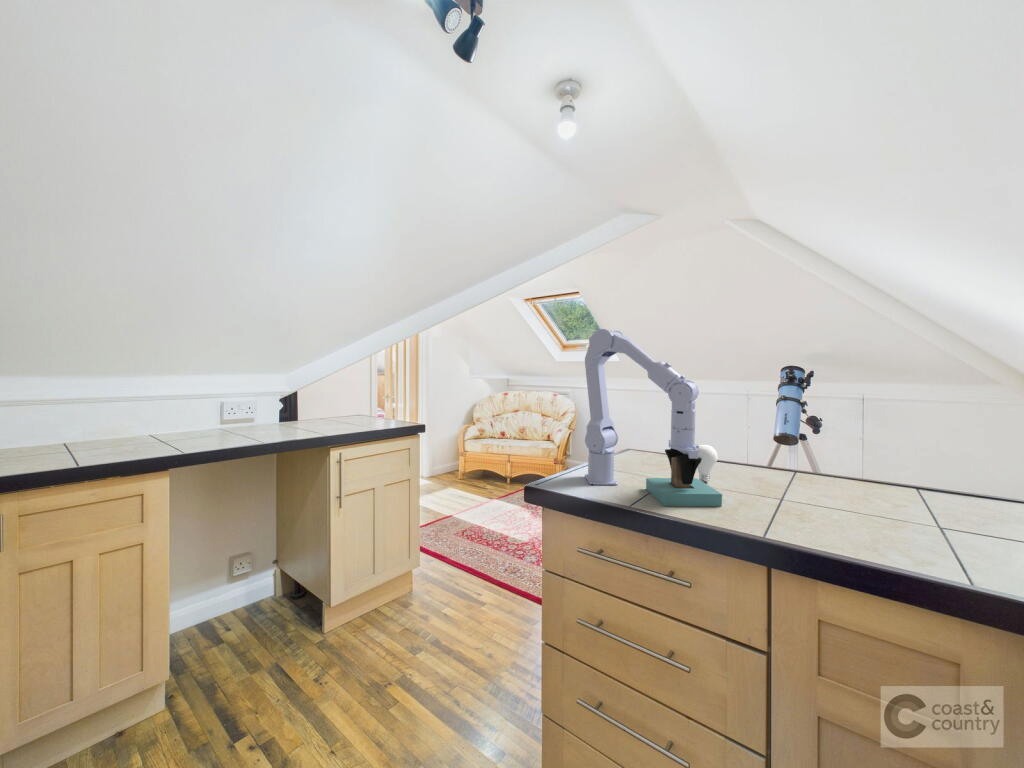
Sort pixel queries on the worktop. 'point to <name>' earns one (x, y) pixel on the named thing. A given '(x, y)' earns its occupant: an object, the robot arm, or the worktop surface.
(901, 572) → the worktop surface
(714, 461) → the light bulb
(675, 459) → the peg
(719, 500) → the socket block
